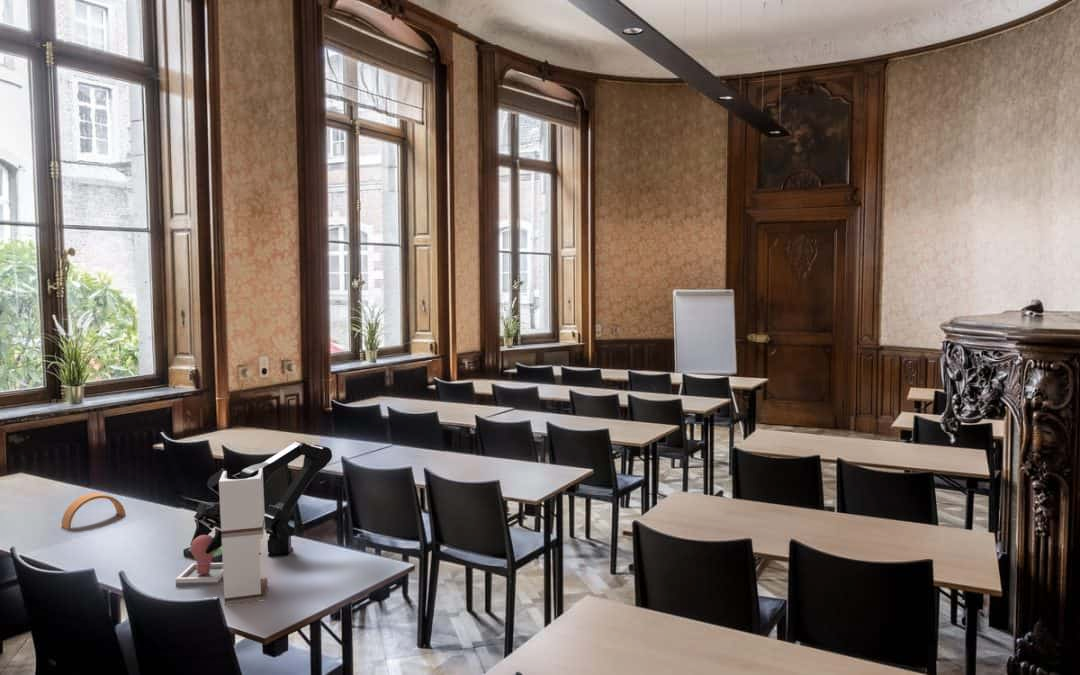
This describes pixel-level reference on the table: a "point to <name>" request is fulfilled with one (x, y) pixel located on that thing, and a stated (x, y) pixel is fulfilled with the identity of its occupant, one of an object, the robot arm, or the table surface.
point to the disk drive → (215, 558)
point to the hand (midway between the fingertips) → (198, 549)
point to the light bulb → (202, 553)
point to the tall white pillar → (242, 537)
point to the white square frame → (201, 576)
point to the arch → (84, 499)
